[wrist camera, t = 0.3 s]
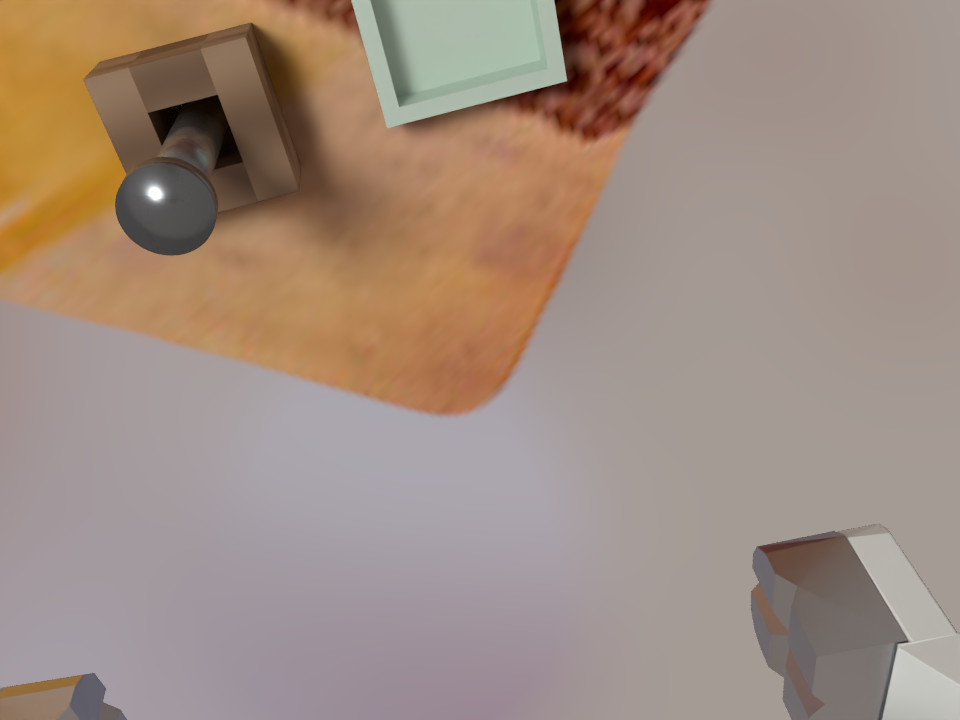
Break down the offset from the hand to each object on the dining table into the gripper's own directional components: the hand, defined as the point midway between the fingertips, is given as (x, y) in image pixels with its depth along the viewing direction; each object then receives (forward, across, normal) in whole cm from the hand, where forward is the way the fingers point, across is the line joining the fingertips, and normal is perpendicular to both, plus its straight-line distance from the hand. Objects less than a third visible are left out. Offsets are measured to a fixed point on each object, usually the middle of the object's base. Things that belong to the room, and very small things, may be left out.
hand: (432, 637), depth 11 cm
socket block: (+46, +12, +8) cm, 49 cm away
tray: (+47, -3, +4) cm, 48 cm away
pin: (+46, +12, +8) cm, 49 cm away
